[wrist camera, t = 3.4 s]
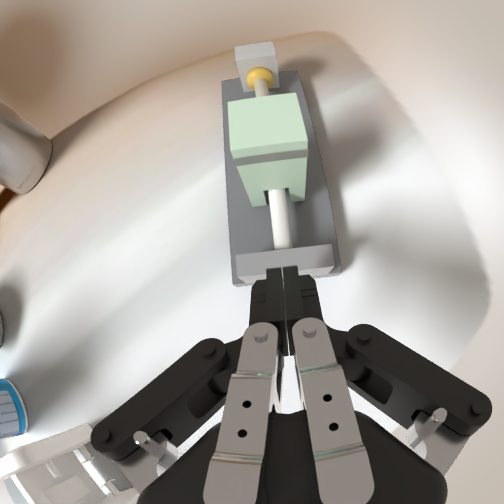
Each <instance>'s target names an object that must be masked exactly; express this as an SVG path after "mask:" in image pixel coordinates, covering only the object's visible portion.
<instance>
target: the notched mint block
mask: <svg viewBox="0 0 504 504" xmlns="http://www.w3.org/2000/svg"><path fill="white" fill-rule="evenodd" d="M227 103H228V121H229V139H230V151H231V154H232V159H233V162H234V164H235V167H236V166H237V169H238V171H239V174H240V177H241V179H242V182H243V184H244V187H245V189H246V192H247V194H248V197H249V199H250V202H251V205H252V207H256V206H264V205H267V203H266V194H265V191H266V190H274V189H282V188H288V191H289V198H290V202H297V201H304V200H305V185H306V168H307V157H308V150H309V149H308V139H307V135H306V131H305V126H304V122H303V118H302V114H301V110H300V106H299V102H298V98H297V95H296V93H287V94H278V95H270V96H262V97H255V98H249V99H243V100H237V101H231V102H227Z"/></svg>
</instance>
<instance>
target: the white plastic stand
mask: <svg viewBox="0 0 504 504" xmlns="http://www.w3.org/2000/svg"><path fill="white" fill-rule="evenodd" d="M91 432H92V428H91V427H90V425H89V424H84V425H81V426H78V427H75V428H73V429H70V430H68V431H65V432H62V433H60V434H57V435H54V436H51V437H48V438H45V439H43V440H40V441H37V442H34V443H30V444H27V445H24V446H21V447H19V448H17V449H14V450H12V451H11V452H9V453H8V454H6V455H5V456H3V457H2V458H0V480H4V479H7V478H10V477H11V478H12V479H13V481H14V483H15V484H16V486H17V487H18V489H19V490H20V491H21V493H22V494H23V496H24V497H25V499H26V500H27V501H28V503H29V504H136V503H137V500H138V497H139V495H140V494H139V493H138V492H137V490H136V489H135V488H130V489H127V490H124V491H121V492H119V491H118V490H117V488H116V487H115V486H114V485H113V484H112V483H111V481H113V480H115V479H111V480H109V481H107V482H106V483H105V484H104V485H103V486H105V485H106V487H107V488H108V489H109V490H110V491H111V493H112V494H110V495H107V496H106V495H105V493H104V492H103V491H102V490H101V489H100V487H99V486H98V485H97V484H96V482H95V481H94V480H93V479H92V477H91V476H90V475H89V473H88V472H87V471H86V469H85V468H84V467H83V465H82V464H81V462H80V461H79V460H78V458H77V457H76V455H75V454H74V452H73V450H75V449H77V448H78V449H79V451H80V452H81V454H82V455H83V456H84V458H85V459H86V461H84V462H87V461H90V460H91V459H93V458H94V457H95V456H94V457H92V456H91V455H90V454H89V452H88V451H87V449H86V448H85V446H84V444H86V443H88V442H89V441H91V439H90V437H91ZM96 456H97V455H96ZM84 462H83V463H84ZM103 486H102V487H103Z"/></svg>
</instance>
